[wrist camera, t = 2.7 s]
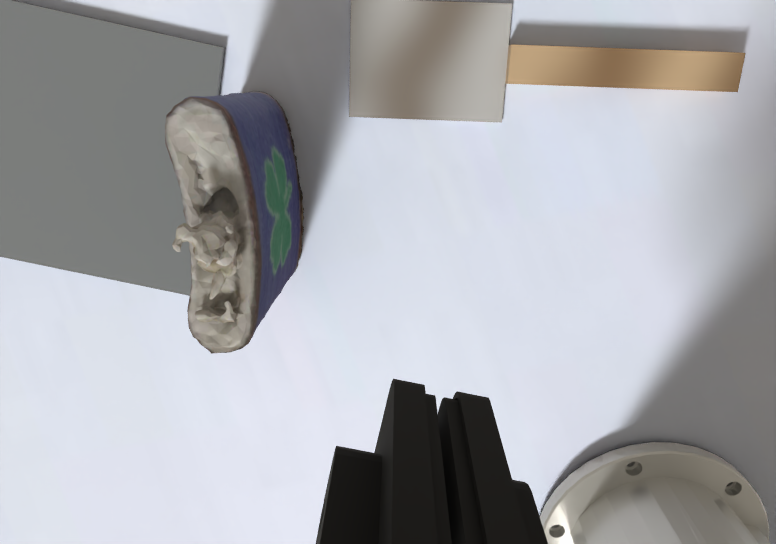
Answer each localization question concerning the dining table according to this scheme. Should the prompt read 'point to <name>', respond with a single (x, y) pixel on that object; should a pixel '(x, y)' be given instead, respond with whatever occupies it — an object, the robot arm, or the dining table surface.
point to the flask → (235, 210)
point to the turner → (493, 62)
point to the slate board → (94, 144)
